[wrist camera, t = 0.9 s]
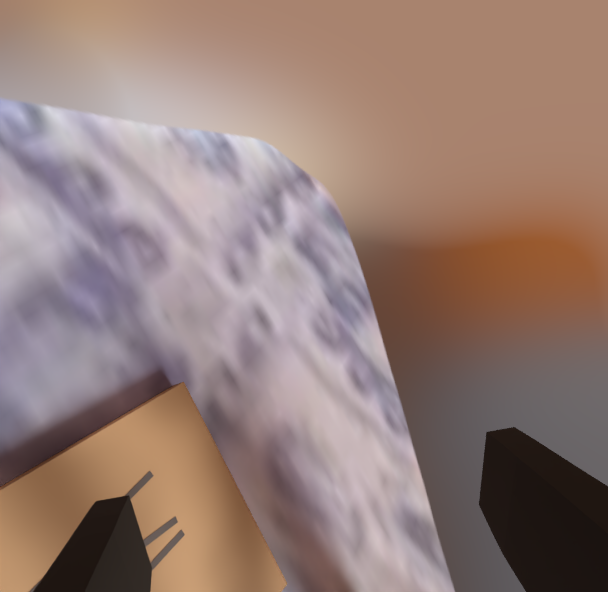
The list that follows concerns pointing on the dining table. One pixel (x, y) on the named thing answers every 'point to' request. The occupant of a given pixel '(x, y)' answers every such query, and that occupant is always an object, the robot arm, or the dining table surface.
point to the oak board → (142, 503)
